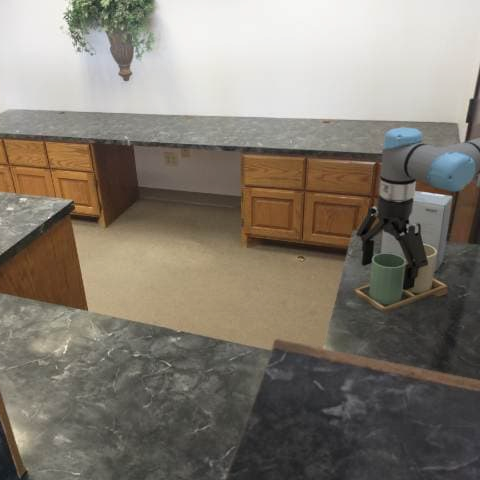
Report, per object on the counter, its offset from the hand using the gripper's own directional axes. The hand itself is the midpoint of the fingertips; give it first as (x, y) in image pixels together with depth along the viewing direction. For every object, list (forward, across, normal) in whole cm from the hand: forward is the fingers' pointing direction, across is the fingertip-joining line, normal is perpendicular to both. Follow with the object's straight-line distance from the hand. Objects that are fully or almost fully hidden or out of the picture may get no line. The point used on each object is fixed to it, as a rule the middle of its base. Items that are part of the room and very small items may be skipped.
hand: (386, 275), depth 127 cm
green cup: (+8, 0, 0) cm, 8 cm away
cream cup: (+8, 0, +10) cm, 12 cm away
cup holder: (+8, 0, +5) cm, 9 cm away
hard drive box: (+8, -12, +21) cm, 25 cm away
